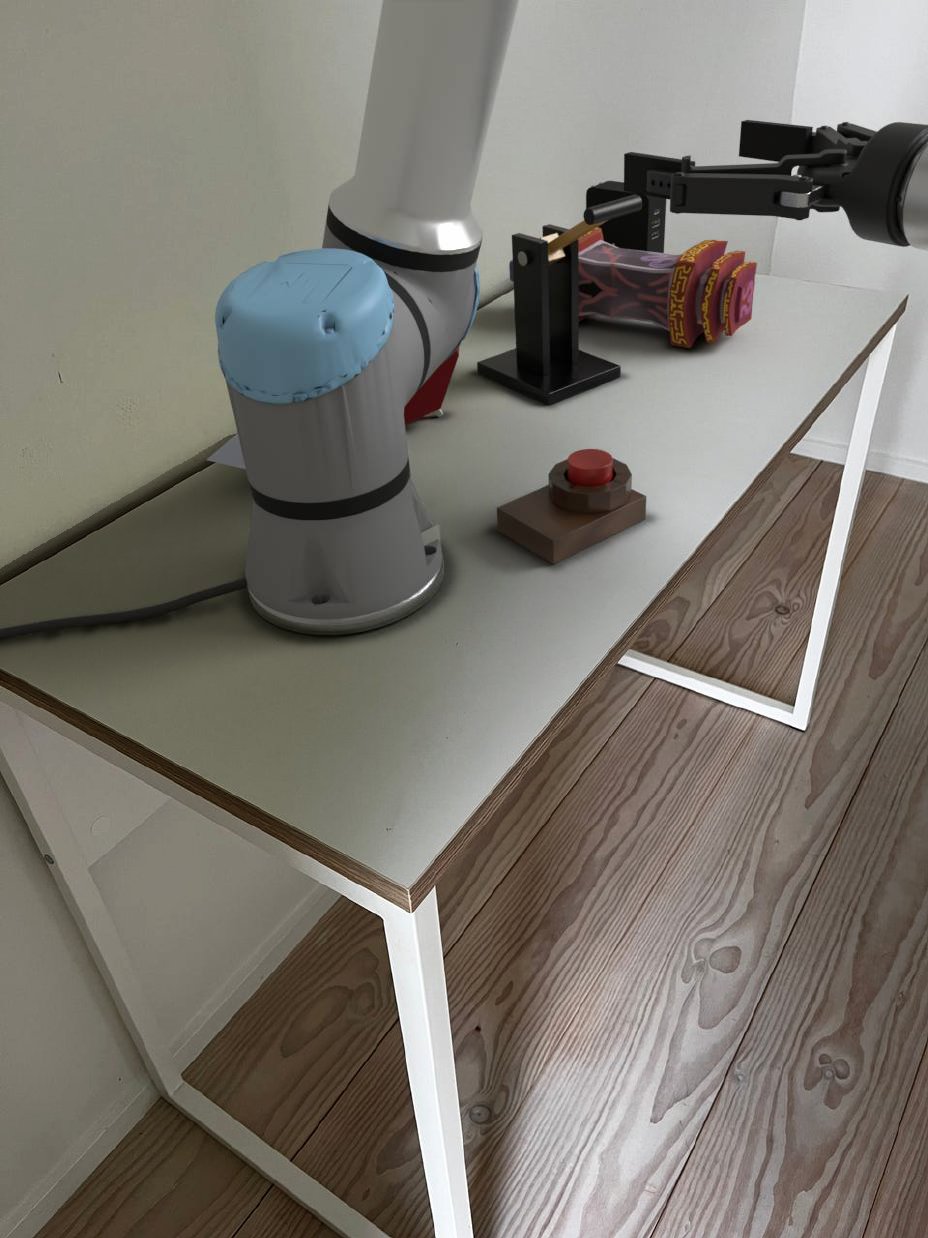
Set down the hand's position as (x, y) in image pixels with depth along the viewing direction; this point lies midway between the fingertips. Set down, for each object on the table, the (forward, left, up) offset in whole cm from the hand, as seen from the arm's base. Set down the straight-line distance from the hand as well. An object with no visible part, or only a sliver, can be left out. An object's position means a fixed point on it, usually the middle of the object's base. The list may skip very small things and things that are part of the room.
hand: (686, 153), depth 80 cm
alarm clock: (-19, +20, -24) cm, 37 cm away
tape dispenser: (-31, +18, -24) cm, 43 cm away
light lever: (0, +13, -10) cm, 16 cm away
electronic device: (+32, +39, -24) cm, 56 cm away
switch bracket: (0, +18, -24) cm, 30 cm away
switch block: (-19, -7, -24) cm, 31 cm away
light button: (-17, -7, -21) cm, 27 cm away
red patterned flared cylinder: (+16, +23, -24) cm, 37 cm away
